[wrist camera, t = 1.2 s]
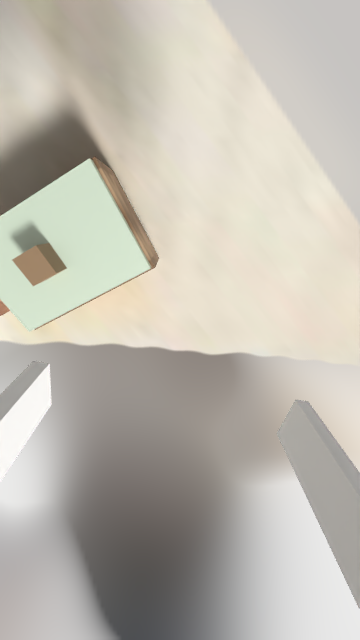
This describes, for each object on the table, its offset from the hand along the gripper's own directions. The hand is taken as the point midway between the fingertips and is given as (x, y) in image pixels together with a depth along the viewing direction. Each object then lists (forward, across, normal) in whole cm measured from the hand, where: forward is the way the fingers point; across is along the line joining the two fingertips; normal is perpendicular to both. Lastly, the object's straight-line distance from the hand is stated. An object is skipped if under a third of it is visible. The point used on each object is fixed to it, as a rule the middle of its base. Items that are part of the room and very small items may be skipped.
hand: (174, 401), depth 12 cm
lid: (+17, -14, +2) cm, 22 cm away
